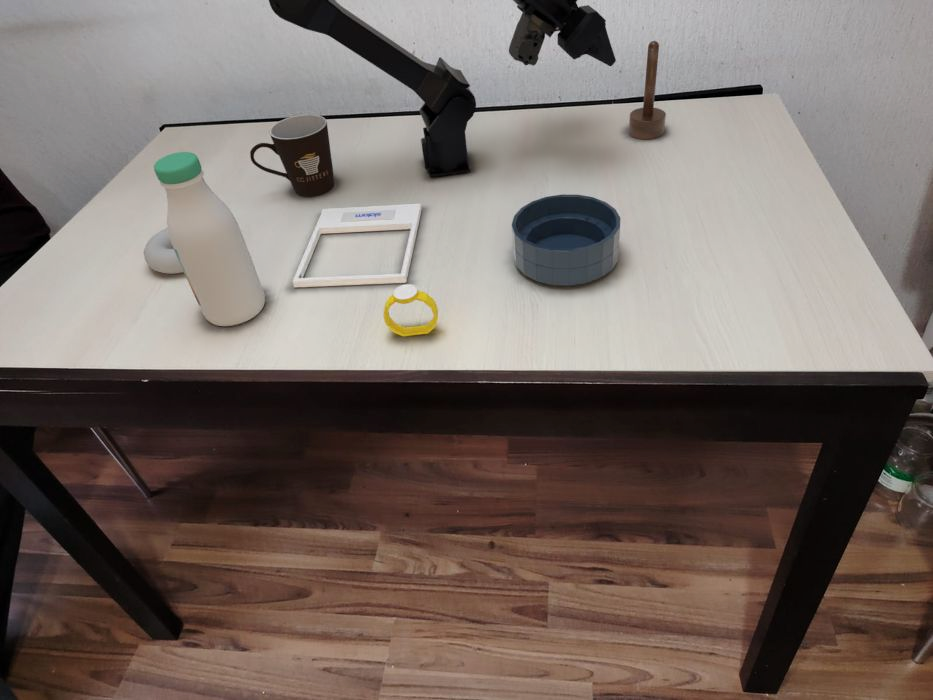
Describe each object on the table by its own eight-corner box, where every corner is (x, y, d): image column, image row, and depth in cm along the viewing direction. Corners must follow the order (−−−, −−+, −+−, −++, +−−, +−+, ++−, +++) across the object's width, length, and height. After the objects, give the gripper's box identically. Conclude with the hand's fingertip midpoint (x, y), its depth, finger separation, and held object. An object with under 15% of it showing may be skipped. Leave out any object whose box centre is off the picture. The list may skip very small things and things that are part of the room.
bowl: (601, 225, 90) (603, 188, 86) (631, 280, 80) (634, 241, 76) (506, 239, 89) (504, 202, 86) (524, 296, 80) (522, 258, 76)
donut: (194, 283, 89) (235, 241, 96) (183, 262, 87) (227, 220, 93) (134, 274, 92) (179, 234, 99) (123, 254, 90) (169, 214, 96)
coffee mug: (347, 173, 109) (333, 113, 102) (334, 199, 102) (318, 137, 96) (279, 176, 110) (260, 117, 104) (262, 202, 104) (241, 141, 97)
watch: (441, 322, 78) (434, 281, 74) (440, 338, 76) (433, 296, 72) (390, 326, 78) (380, 285, 74) (388, 342, 76) (378, 300, 72)
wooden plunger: (657, 122, 111) (665, 33, 102) (668, 136, 107) (679, 44, 98) (624, 127, 111) (630, 38, 102) (634, 141, 107) (641, 49, 98)
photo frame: (420, 202, 97) (404, 275, 83) (421, 209, 97) (406, 282, 84) (322, 207, 98) (291, 280, 85) (324, 214, 99) (294, 287, 86)
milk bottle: (279, 296, 85) (226, 147, 71) (240, 333, 80) (176, 181, 66) (232, 285, 88) (173, 140, 74) (191, 320, 83) (121, 172, 69)
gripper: (477, 17, 102) (547, 77, 110) (508, 55, 88) (585, 120, 97) (524, -50, 98) (594, 19, 106) (565, -21, 84) (641, 55, 92)
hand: (601, 53), depth 100 cm, fingers open, 9 cm apart
